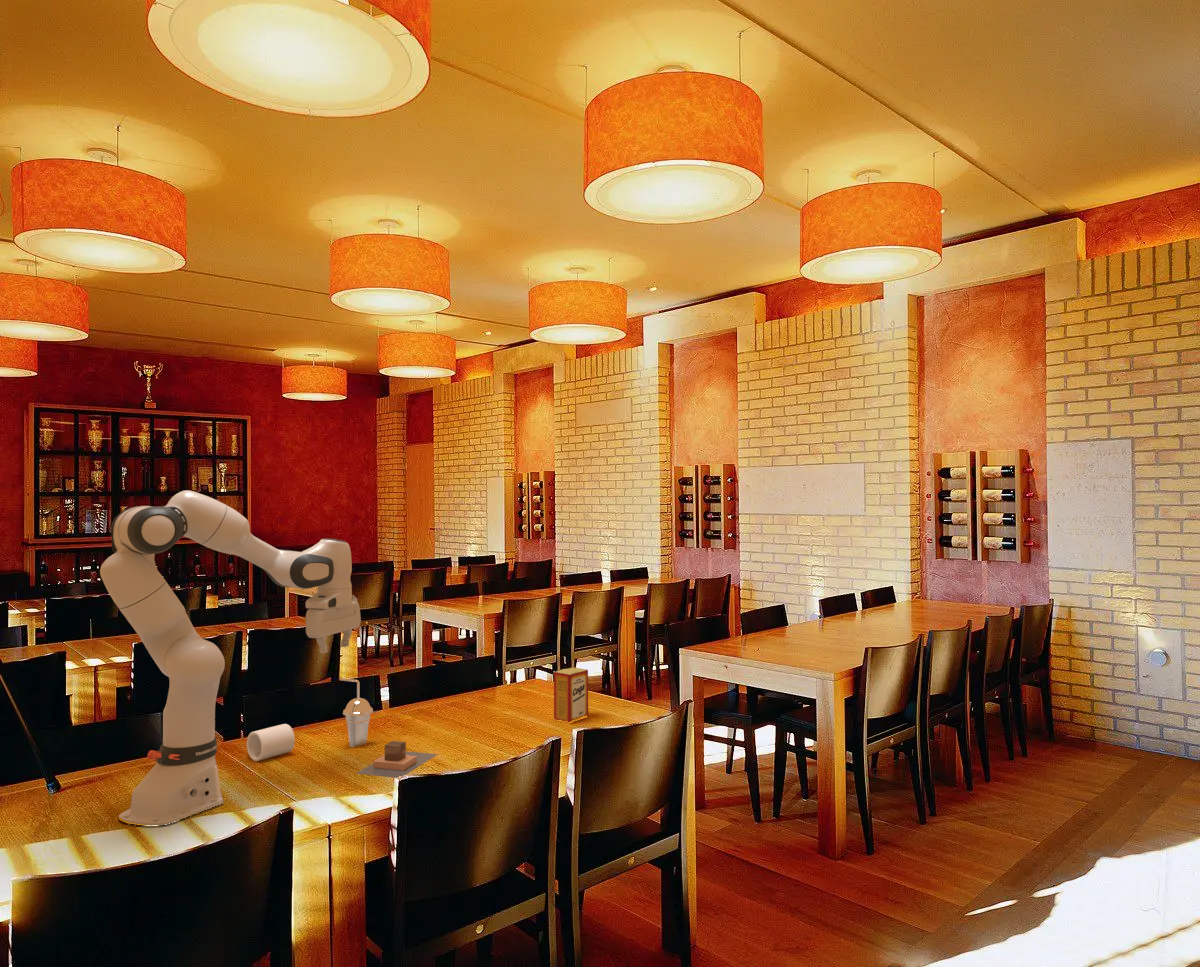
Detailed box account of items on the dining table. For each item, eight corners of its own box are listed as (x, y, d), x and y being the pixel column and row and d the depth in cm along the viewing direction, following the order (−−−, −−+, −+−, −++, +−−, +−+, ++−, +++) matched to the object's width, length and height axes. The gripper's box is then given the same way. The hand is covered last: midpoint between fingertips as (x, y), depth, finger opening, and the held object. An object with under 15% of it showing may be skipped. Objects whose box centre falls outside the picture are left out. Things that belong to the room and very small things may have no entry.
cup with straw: (364, 751, 232) (364, 680, 232) (335, 749, 233) (335, 679, 234) (378, 742, 240) (378, 674, 240) (350, 740, 242) (350, 673, 242)
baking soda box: (572, 714, 270) (572, 666, 271) (588, 717, 266) (587, 668, 267) (554, 720, 263) (553, 671, 263) (569, 724, 259) (569, 673, 259)
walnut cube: (398, 761, 214) (398, 746, 214) (384, 760, 216) (384, 745, 216) (405, 756, 218) (405, 741, 218) (392, 755, 219) (392, 740, 219)
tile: (403, 764, 212) (416, 756, 219) (373, 761, 215) (387, 753, 221) (403, 770, 212) (416, 762, 219) (373, 767, 215) (387, 759, 221)
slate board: (400, 781, 207) (400, 777, 207) (355, 776, 211) (355, 773, 211) (437, 757, 226) (437, 754, 226) (396, 753, 230) (396, 750, 230)
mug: (295, 754, 229) (295, 726, 230) (262, 763, 221) (262, 734, 222) (270, 747, 236) (270, 719, 237) (238, 755, 228) (238, 727, 229)
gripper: (346, 593, 231) (346, 642, 231) (301, 602, 211) (301, 656, 211) (366, 594, 229) (366, 643, 229) (322, 603, 210) (322, 657, 209)
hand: (334, 649), depth 220 cm, fingers open, 8 cm apart
